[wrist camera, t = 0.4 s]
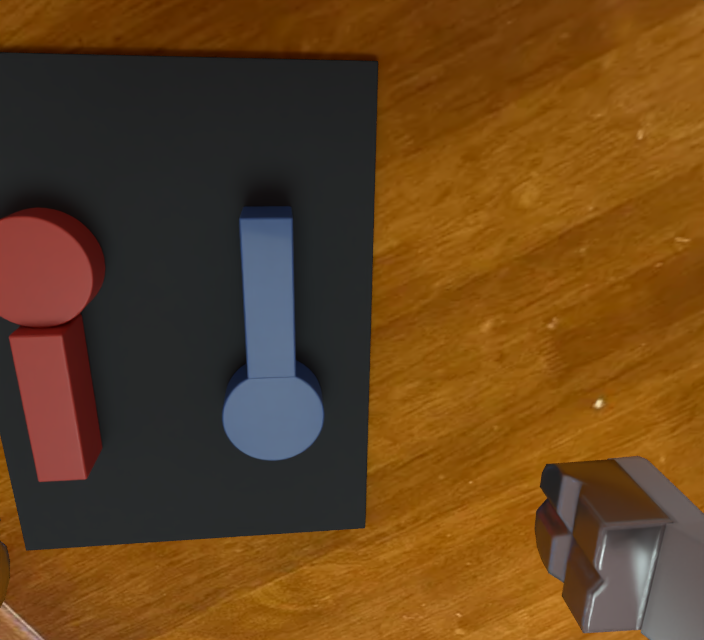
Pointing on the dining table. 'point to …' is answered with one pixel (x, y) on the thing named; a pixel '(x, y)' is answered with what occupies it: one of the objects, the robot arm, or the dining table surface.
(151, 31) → the dining table surface
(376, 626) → the dining table surface
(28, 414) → the red spoon
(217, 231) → the mat
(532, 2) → the dining table surface
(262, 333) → the blue spoon
